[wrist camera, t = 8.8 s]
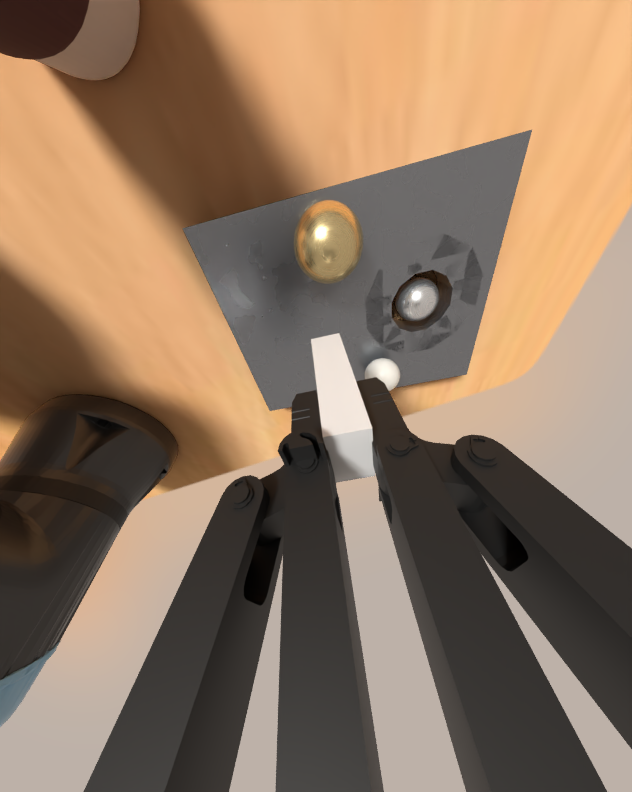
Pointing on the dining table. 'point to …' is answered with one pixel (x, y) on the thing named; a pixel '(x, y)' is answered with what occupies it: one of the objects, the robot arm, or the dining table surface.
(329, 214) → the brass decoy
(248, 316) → the plate
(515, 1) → the dining table surface
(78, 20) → the coffee cup
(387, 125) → the dining table surface
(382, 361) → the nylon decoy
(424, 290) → the steel ball
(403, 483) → the robot arm
